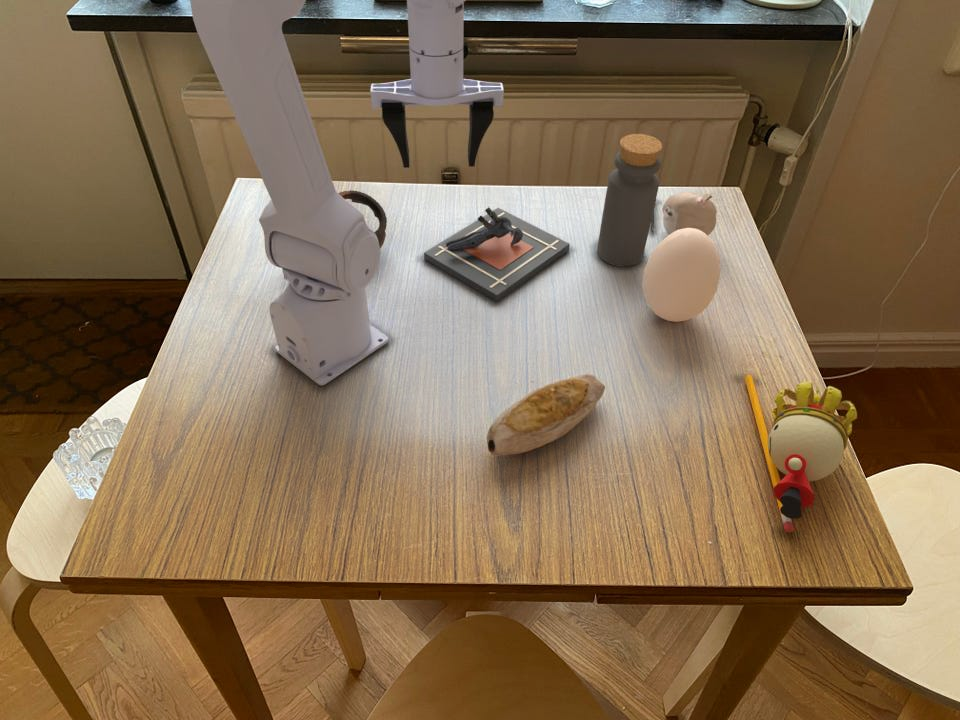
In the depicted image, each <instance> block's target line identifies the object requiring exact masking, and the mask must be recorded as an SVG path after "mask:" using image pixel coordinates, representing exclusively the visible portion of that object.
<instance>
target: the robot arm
mask: <svg viewBox="0 0 960 720" xmlns="http://www.w3.org/2000/svg"><path fill="white" fill-rule="evenodd" d="M306 1H307V0H189V2H190V3H189V4H190V9H191V15H192V20H193V22H194V26H195V29H196V32H197V35H198V37H199V40H200V42H201V44H202V46H203V48H204V51H205V52H206V55H207V57H208V60H209V62H210V64H211V67H212V69H213V71H214V73H215V76H216V77H217V80H218V82H219V84H220V87H221V89H222V91H223V93H224V95H225V99H226V100H227V103H228V105H229V107H230V110H231V112H232V114H233V117H234V118H235V120H236V123H237V125H238V127H239V130H240V132H241V134H242V136H243V139H244V141H245V143H246V146H247V148H248V150H249V152H250V154H251V157H252V160H253V161H254V164H255V166H256V168H257V171H258V173H259V175H260V177H261V179H262V182H263V184H264V187H265V189H266V191H267V193H268V195H269V198H270V200H269V201H268V203H267V204H266V205H265V206H264V209H263V211H262V213H261V215H260V217H259V218H258V222H259V224H260V226H261V228H262V231H263V238H264V250H265V251H264V252H265V255H266V258H267V260H268V262H269V263H270V264H271V265H273V267H277V268H280V269H281V270H282V274H283V275H282V276H283V278H284V280H287V281H288V282H289V283H288V285H287V287H286V288H285V289H284V290H283V291H282V293H281V294H280V295H279V296H278V297H276V298H275V299H274V300H273V301H272V302H271V303H270V305H269V314H270V315H269V316H270V319H271V324H272V328H273V331H274V336H275V338H276V343H277V344H276V345H275V346H274V349H275V352H276V353H278V354H279V355H280V356H281V357H283V358H284V359H285V360H287V361H288V362H289V363H290V364H292V365H293V366H294V367H295V368H297V370H299V371H301V372H302V373H303V374H304V375H306V376H307V377H308V378H309V379H311V381H313V382H314V383H316V384H317V385H319V386H325V385H327V384H328V383H330V382H331V381H332V380H334V379H336V378H337V377H339V376H340V375H341V374H343V373H345V372H346V371H347V370H349V369H350V368H352V367H353V366H355V365H357V364H358V363H360V362H361V361H362V360H364V359H365V358H367V357H368V356H370V355H371V354H373V353H374V352H376V351H377V350H379V349H380V348H382V347H383V346H384V345H386V344H388V343H389V340H390V339H389V338H390V337H389V335H387V334H385V333H383V332H382V331H381V330H380V329H377V327H375V326H374V325H372V324H371V322H370V314H369V305H368V299H367V298H368V297H367V289H366V287H367V286H368V285H369V284H370V282H371V281H372V280H373V278H374V277H375V274H376V272H377V271H378V267H379V263H380V258H381V248H380V246H379V241H378V238H377V236H376V234H375V231H374V230H372V229H371V228H370V227H369V226H368V225H367V222H366V219H365V216H364V214H363V213H362V212H361V211H360V210H359V209H358V208H356V207H355V206H353V204H351V203H350V202H349V201H348V200H347V199H344V198H343V197H342V196H340V195H339V194H338V193H339V192H338V191H336V188H335V185H334V182H333V179H332V176H331V173H330V170H329V167H328V163H327V161H326V158H325V154H324V152H323V149H322V146H321V142H320V140H319V136H318V134H317V131H316V128H315V124H314V122H313V119H312V116H311V113H310V110H309V106H308V104H307V101H306V98H305V95H304V92H303V89H302V86H301V84H300V80H299V77H298V74H297V71H296V68H295V65H294V62H293V59H292V55H291V53H290V50H289V48H288V44H287V41H286V39H285V36H284V33H283V23H284V22H286V21H288V20H290V19H292V18H294V17H296V16H299V14H300V13H301V11H302V9H303V8H304V5H305V3H306ZM466 1H467V0H406V8H407V9H406V10H407V29H408V47H409V50H408V52H409V68H410V69H409V70H410V78H408V79H403V80H397V81H390V82H383V83H371V84H370V91H369V92H370V103H371V109H381V119H382V121H383V124H384V125H385V127H386V128H387V129H388V131H389V133H390V135H391V136H392V138H393V141H394V142H395V144H396V147H397V150H398V152H399V155H400V157H401V161H402V167H403V168H405V169H410V148H409V140H408V133H407V117H406V106H429V107H445V106H454V105H456V106H458V105H460V106H461V105H462V106H463V105H464V106H466V105H467V106H469V107H468V108H469V109H468V110H469V114H468V115H469V117H468V118H469V130H468V131H469V132H468V143H467V163H468V167H469V168H470V167H475V166H476V161H477V155H478V152H479V149H480V147H481V144H482V141H483V140H484V139H483V138H484V137H485V135H486V133H487V131H488V129H489V127H491V125H492V123H493V119H494V116H495V112H494V108H503V107H504V97H505V96H504V95H505V94H504V93H505V92H504V91H505V89H504V84H503V83H502V82H494V81H493V82H492V81H484V80H483V81H482V80H475V79H468V78H464V24H465V23H464V17H465V16H464V15H465V14H464V13H465V12H464V9H465V8H464V4H465V2H466Z"/></svg>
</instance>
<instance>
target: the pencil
mask: <svg viewBox="0 0 960 720" xmlns="http://www.w3.org/2000/svg"><path fill="white" fill-rule="evenodd" d="M744 381H745V384H746V388H747V392H748V396H749V399H750V403H751V407H752V410H753V414H754V419H755V422H756V426H757V428H758V433H759V437H760V441H761V445H762V449H763V451H764V457H765V460H766V464H767V468H768V471H769V475H770V480H771V483H772V486H773V488H774V487H775V486H776V485H777V484H778V483H779V482H780V481H781V477H780V473H779V469H778V468H777V467H776V466H775V464H774V463H773V461H772V459H771V457H770V455H769V451H768V439H769V434H768V430H767V427H766V426H767V425H766V422H765V418H764V415H763V412H762V408H761V404H760V400H759V397H758V393H757V389H756V386H755V382H754V379H753V376H752V375H751V374H747V375H746V376H744ZM775 499H776V503H777V505H778V510H779V513H780V518H781V521H782V525H783V529H784V532H785V533H792V532H794V531H795V529H794V525H793V521H792V519H791V518H788V517H785V516H784V515H783V514H782V513H781V511H780V508H781V507H782V506H783V505H782V504H781V502H780V501H779V500H778V499H777V498H776V497H775Z"/></svg>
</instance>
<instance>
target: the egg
mask: <svg viewBox="0 0 960 720" xmlns="http://www.w3.org/2000/svg"><path fill="white" fill-rule="evenodd" d="M719 258H720V257H719V253H718V251H717V248H716V245H715V243H714V242H713V240H712V238H711V237H710V236H709V235H708V236H707V235H706V234H705V233H704V232H702V231H700V230H698V229H694V228H684V229H680V230H677V231H674V232H673V233H671V234H669V233H668V235H667V236H666V237H664V238H663V239H662V240H661V241H660V242H659V243H658V245H656V247H655V248H654V249H653V251H652V252H651V254H650V255H649V257H648V260H647V262H646V265H645V268H644V270H643V277H642V290H643V295H644V299H645V301H646V303H647V305H648V306H649V308H650V309H651V311H652V312H653V313H654V314H655V315H656V316H658V317H659V318H661V319H663V320H665V321H668V322H674V323H679V322H684V321H685V322H686V321H688V320H690V319H693V318H696V317H697V316H699V314H701V313H702V312H704V311H705V310H706V309H707V308H708V307H709V305H710V304H711V302H712V301H713V300H714V297H715V295H716V293H717V290H718V286H719V282H720V279H721V265H720V259H719Z"/></svg>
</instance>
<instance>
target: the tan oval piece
mask: <svg viewBox="0 0 960 720" xmlns="http://www.w3.org/2000/svg"><path fill="white" fill-rule="evenodd" d="M605 389H606V386H605V385H604V383H603V382H601V381H600V380H598V378H597V377H596V376H595V375H594V374H583V375H577V376H574V377H573V376H572V377H570V378H566V379H561V380H558V381H555V382H552V383H549V384H547V385H544V386H542V387H539V388H536V389H535V390H532V391H531V392H529V393H528V394H527V395H525V396H523V397H522V398H520V399H519V400H517V401H516V402H514V403H513V404H511V405H510V406H509V407H508V408H506V409H504V410H503V411H502V412H501V413H500V414H499V415H498V416H497V418H496V419H494V421H493V422H492V424H491V425H490V427H489V429H488V431H487V435H486V444H487V450H488V452H489V453H490V454H491V455H492V456H495V457H499V456H508V455H509V456H510V455H518V454H524V453H527V452H530V451H532V450H534V449H535V450H536V449H538V448H541V447H543V446H545V445H547V444H551V443H552V442H554V441H557V440H558V439H560V438H562V437H564V435H566V434H568V433H569V432H570V431H572V430H573V429H574V428H575V427H576V426H577V425H579V424H580V423H581V422H582V421H583V420H584V419H585V418H586V417H587V416H588V415H589V414H590V413H591V412H592V410H593V409H595V407H596V406H597V404H598V403H599V401H600V400H601V398H602V397H603V395H604V392H605Z"/></svg>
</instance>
